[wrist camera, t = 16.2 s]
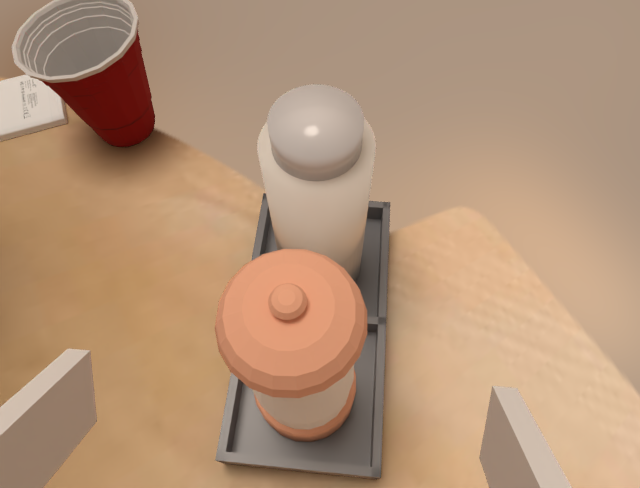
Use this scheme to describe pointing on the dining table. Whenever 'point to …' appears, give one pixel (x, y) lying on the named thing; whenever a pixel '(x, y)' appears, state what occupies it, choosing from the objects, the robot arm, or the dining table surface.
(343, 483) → the dining table surface
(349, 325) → the pepper shaker
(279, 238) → the salt shaker
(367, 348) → the shaker caddy
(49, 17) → the plastic cup
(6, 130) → the external hard drive
